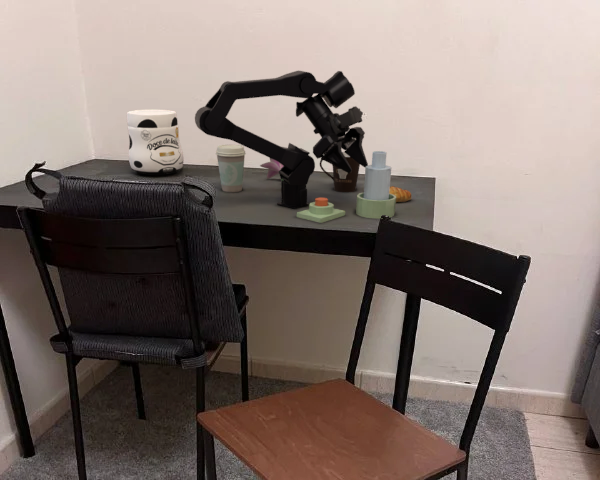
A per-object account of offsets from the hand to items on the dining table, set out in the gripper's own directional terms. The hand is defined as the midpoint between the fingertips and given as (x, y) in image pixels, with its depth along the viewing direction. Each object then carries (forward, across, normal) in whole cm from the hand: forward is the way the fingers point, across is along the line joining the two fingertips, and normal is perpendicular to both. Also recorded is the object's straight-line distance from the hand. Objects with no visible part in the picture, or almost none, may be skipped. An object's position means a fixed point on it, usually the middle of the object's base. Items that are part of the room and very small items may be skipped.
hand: (358, 169), depth 157 cm
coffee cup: (-22, +1, +37) cm, 43 cm away
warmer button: (+2, -10, +9) cm, 14 cm away
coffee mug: (-3, +21, +18) cm, 28 cm away
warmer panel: (+4, -10, +11) cm, 15 cm away
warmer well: (+11, 0, +4) cm, 12 cm away
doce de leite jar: (-46, +7, +61) cm, 77 cm away
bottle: (+11, 0, +3) cm, 11 cm away
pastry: (+10, +16, +5) cm, 20 cm away
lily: (-18, +19, +33) cm, 42 cm away
